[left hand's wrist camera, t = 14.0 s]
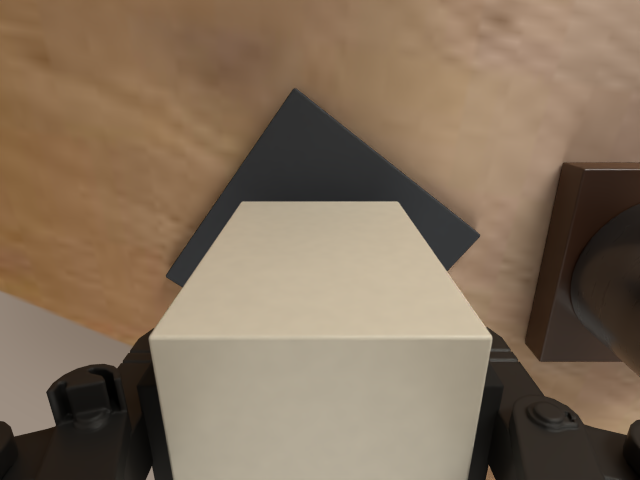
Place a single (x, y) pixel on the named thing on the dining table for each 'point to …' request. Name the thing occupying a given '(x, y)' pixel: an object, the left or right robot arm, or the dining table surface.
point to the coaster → (322, 183)
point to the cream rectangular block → (320, 351)
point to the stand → (591, 269)
